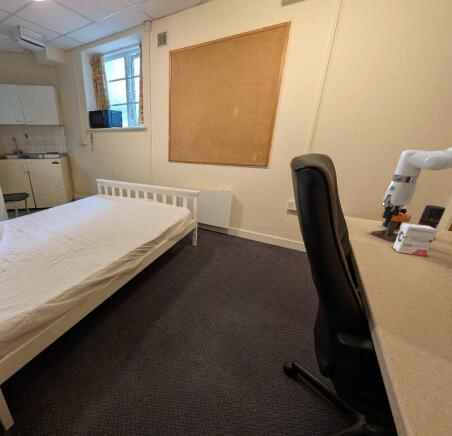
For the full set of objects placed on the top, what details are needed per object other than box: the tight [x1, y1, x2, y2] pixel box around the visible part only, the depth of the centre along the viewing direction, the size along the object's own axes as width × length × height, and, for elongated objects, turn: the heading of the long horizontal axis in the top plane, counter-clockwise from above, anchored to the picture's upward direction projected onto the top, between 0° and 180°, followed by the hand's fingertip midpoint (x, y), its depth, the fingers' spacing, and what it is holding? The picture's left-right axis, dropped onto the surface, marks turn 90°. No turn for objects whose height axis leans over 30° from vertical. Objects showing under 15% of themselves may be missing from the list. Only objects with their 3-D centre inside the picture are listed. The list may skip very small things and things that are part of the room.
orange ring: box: [380, 210, 412, 223], centre depth 103 cm, size 10×10×2 cm
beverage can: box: [381, 206, 408, 231], centre depth 114 cm, size 7×7×12 cm
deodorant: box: [417, 204, 446, 230], centre depth 104 cm, size 6×6×15 cm
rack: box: [370, 220, 399, 243], centre depth 105 cm, size 9×9×10 cm
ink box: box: [392, 222, 438, 257], centre depth 91 cm, size 8×5×12 cm, turn 66°
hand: (389, 218), depth 102 cm, fingers closed on orange ring, 2 cm apart
